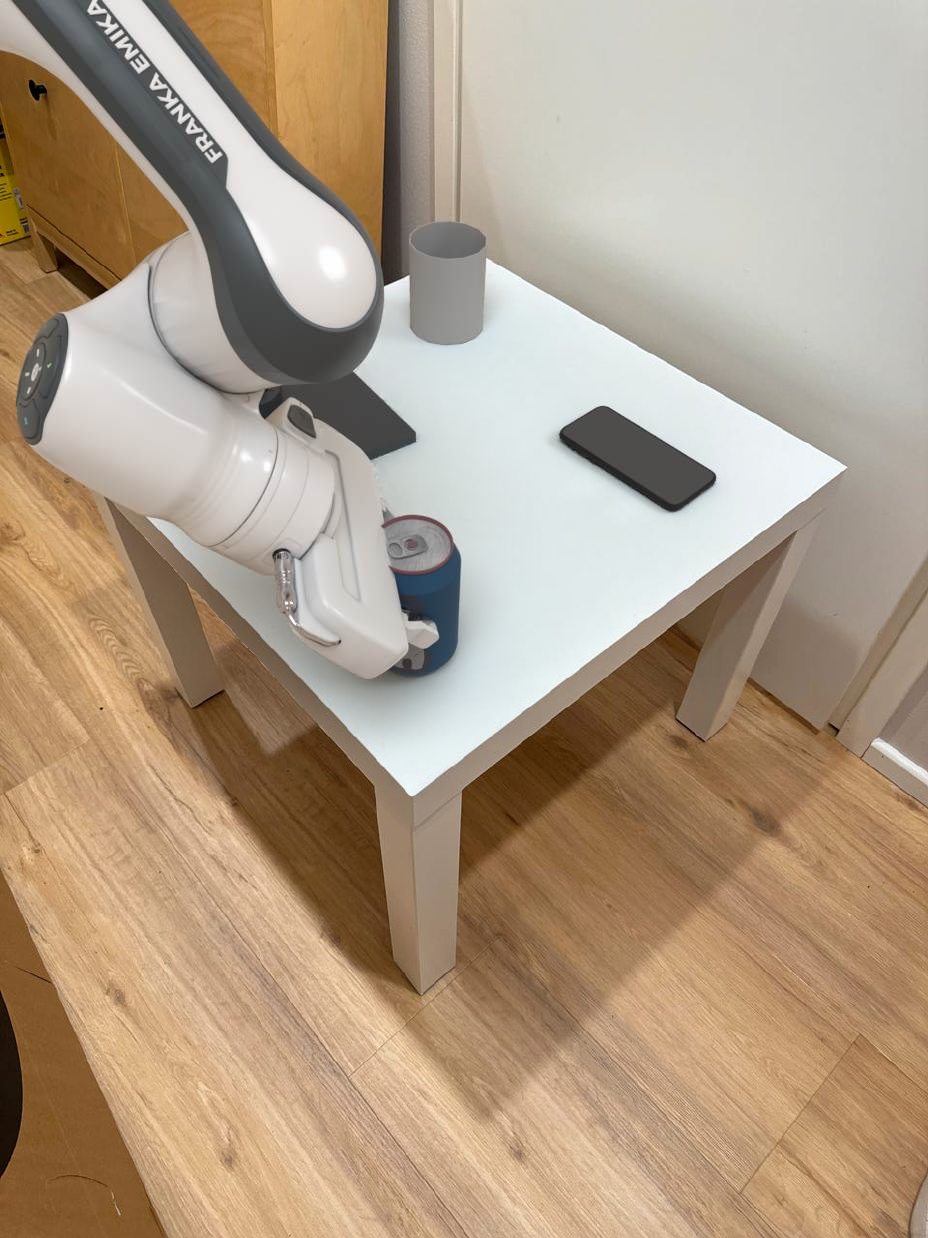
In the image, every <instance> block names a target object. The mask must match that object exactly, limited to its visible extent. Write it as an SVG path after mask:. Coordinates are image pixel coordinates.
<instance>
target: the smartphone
mask: <svg viewBox="0 0 928 1238" xmlns="http://www.w3.org/2000/svg"><path fill="white" fill-rule="evenodd" d="M558 436H559V439H560V440H561V442H563V443H564V444H566V445H568V447H570V448H572V449H574V450H575V451H577V452H578V453H579V454H581V455H582V456H584V457H586V458H588V459H589V460H590V461H592V462H593V463H595V464H597V465H598V466H600V467H601V468H603V469H605V470H606V471H607V472H609V473H610V474H612V475H613V476H615V477H616V478H618V479H619V480H620V481H623V482H624V483H625V484H627V485H629V486H630V487H632V488H633V489H635V490H636V491H638V492H639V493H641V494H643V495H644V496H645V497H647V498H649V499H650V500H652V501H653V502H655V503H657V504H658V505H659V506H661V507H662V508H664V509H665V510H667V511H670V512H671V511H672V512H675V511H679V510H681V509H683V508H684V507H686V505H687V506H688V505H689V504H690V503H691V502H692V501H693V500H694V499H697V498H698V497H699V496H700V495H702V494H703V493H704V492H706V491H707V490H709V489H710V488H711V487H712V486H714V484H715V483H716V481H717V474H716V472H715V471H713V470H712V469H710V468H708V467H707V466H705V465H703V464H702V463H701V462H699V461H697V460H695V459H694V458H692V457H691V456H689V455H688V454H686V453H684V452H683V451H681V450H679V449H678V448H676V447H675V446H673V445H671V444H670V443H668V442H666V441H665V440H663V439H662V438H660V437H659V436H657V435H655V434H654V433H652V432H650V431H649V430H647V429H645V428H644V427H642V426H640V425H639V424H637V423H636V422H634V421H633V420H631V419H630V418H628V417H626V416H624V415H623V414H621V413H620V412H618V411H616V410H614V409H613V408H611V407H610V406H607V405H598V406H596V407H594V408H592V409H591V410H589V411H587V412H586V413H584V414H583V415H581V416H579V417H578V418H576V419H575V420H573V421H571V422H570V423H568V424H566V425H565V426H563V427H562V428H561V429H560V430H559V435H558Z"/></svg>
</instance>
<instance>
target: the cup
mask: <svg viewBox="0 0 928 1238" xmlns="http://www.w3.org/2000/svg"><path fill="white" fill-rule="evenodd" d="M408 239H409V240H408V266H409V267H408V268H409V270H408V271H409V273H408V274H409V277H408V280H409V328H410V329H411V331H412V333H414V335H415V336H416V337H417V338H420V339H422V340H424V341H425V342H428V343H431V344H438V345H444V346H449V345H461V344H462V345H463V344H465V343H467V342H469V341H472V340H474V339H476V338H478V336H479V335H480V334H481V333H482V331H483V327H484V311H485V310H484V309H485V290H486V272H487V255H488V253H487V252H488V236H487V235H486V234H485V233H484V232H483V231H482V230H481V229H480V228H478V227H476V226H473V225H470V224H468V223H466V222H459V221H453V220H444V221H432V222H428V223H425V224H422V225H419V226H417V227H416V228H415V229H414V230H413V231H412V232H410V233H409V238H408Z"/></svg>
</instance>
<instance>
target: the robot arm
mask: <svg viewBox="0 0 928 1238" xmlns="http://www.w3.org/2000/svg"><path fill="white" fill-rule="evenodd" d="M0 51H3V52H6V53H10V54H14V55H16V56H19V57H22V58H24V59H26V60H29V61H30V62H32V63H35V64H37V65H39V66H40V67H42V68H43V69H45V70H46V71H48V72H49V73H51V74H52V75H53V76H55V77H56V78H58V79H59V80H60V81H61V82H62V83H64V84H65V85H66V86H67V87H68V88H69V89H70V90H71V91H72V92H73V93H74V94H75V95H76V96H77V97H78V98H79V99H80V101H82V103H83V104H84V105H85V106H86V107H87V108H88V110H89V111H90V112H91V113H92V114H93V116H94V117H95V118H96V119H97V120H98V121H99V122H100V124H101V125H102V126H103V127H104V128H105V130H107V132H108V133H109V134H110V135H111V136H112V138H113V139H114V140H115V141H116V142H117V143H118V145H119V146H120V147H121V149H122V150H124V151H125V153H126V154H127V156H129V158H130V159H131V160H132V161H133V162H134V164H136V166H137V168H139V169H140V170H141V172H142V173H143V175H145V176H146V177H147V179H148V180H149V181H150V182H151V183H152V184H153V186H154V187H155V188H156V189H157V191H158V192H159V193H160V194H161V195H162V196H163V197H164V199H165V200H166V201H167V202H168V204H169V205H171V207H172V208H173V209H174V210H175V211H176V212H177V214H178V215H179V216H180V218H181V219H182V221H183V222H184V223H185V226H186V227H187V229H188V230H187V231H185V232H183V233H181V234H179V235H177V236H176V237H174V238H172V239H170V240H169V241H167V242H165V243H164V244H162V245H160V246H158V247H157V248H156V249H154V250H152V251H151V252H150V253H149V254H147V255H146V256H145V257H144V258H143V259H142V260H141V262H139V263H138V265H136V266H135V268H133V270H132V271H130V273H129V274H128V275H126V276H125V277H124V278H123V279H122V280H121V281H120V282H118V283H116V285H114V286H113V287H111V288H110V289H108V290H106V291H105V292H104V293H102V294H100V295H98V296H97V297H94V298H93V299H90V300H89V301H87V302H86V303H83V304H81V305H79V306H78V307H74V308H72V309H69V310H67V311H60V312H57V313H55V314H53V315H52V316H50V318H49V319H48V320H47V321H46V322H45V323H44V324H43V325H42V326H41V327H40V329H39V330H38V332H37V333H36V335H35V337H34V339H33V341H32V344H31V346H30V349H29V350H28V351H27V353H26V356H25V358H24V361H23V363H22V367H21V370H20V374H19V378H18V383H17V387H16V393H15V407H16V420H17V424H18V427H19V431H20V432H21V436H22V437H23V439H24V440H25V442H26V443H27V444H28V445H29V446H30V448H31V449H32V450H33V451H34V452H35V453H37V454H38V456H40V457H41V458H42V459H44V460H45V461H47V462H48V463H49V464H50V465H51V466H53V467H55V468H56V469H57V470H59V471H60V472H62V473H64V474H65V475H66V476H68V477H70V478H71V479H73V480H75V481H76V482H78V483H80V484H81V485H83V486H85V488H88V489H89V490H92V491H93V492H95V493H97V494H98V495H100V496H102V497H104V498H105V499H108V500H110V501H112V503H113V502H114V504H115V503H116V504H117V505H119V506H122V507H123V508H125V509H127V510H129V511H131V512H134V513H135V514H138V515H140V516H143V517H147V518H152V519H158V520H162V521H165V522H168V523H170V524H172V525H173V526H176V527H177V528H178V529H180V530H181V531H182V532H183V533H184V534H186V536H187V537H189V539H191V540H192V541H193V542H195V543H197V544H198V545H199V546H201V547H204V548H206V549H208V550H210V551H212V552H214V553H215V554H217V555H220V556H222V557H225V558H226V559H228V560H230V561H233V562H234V563H236V564H238V565H240V566H242V567H244V568H246V569H248V570H250V571H253V572H254V573H256V574H259V575H261V576H263V577H264V576H265V577H272V576H275V581H276V585H277V593H276V602H277V606H278V609H279V612H280V613H282V614H285V616H286V619H287V622H288V625H289V627H290V629H291V631H292V633H293V634H294V636H296V638H297V639H298V640H299V641H300V642H302V643H303V644H304V645H305V646H307V647H308V648H309V649H310V650H312V651H313V652H315V653H316V654H318V655H319V656H321V657H323V658H324V659H326V660H328V661H329V662H332V663H333V664H335V665H336V666H338V667H339V668H342V669H343V670H345V671H347V672H349V673H351V674H353V675H355V676H357V677H358V678H361V679H366V680H371V679H374V678H377V677H379V676H380V675H382V674H383V673H385V672H387V671H388V670H390V669H389V668H391V667H392V666H393V665H394V664H396V663H397V662H398V661H399V660H400V659H401V658H403V657H404V656H405V655H406V654H407V652H408V643H410V644H412V645H414V646H416V647H418V648H421V649H425V648H428V647H429V646H431V645H432V644H433V643H435V642H436V641H437V640H438V639H439V634H438V631H437V627H436V623H435V620H434V619H430V618H429V617H428V616H426V615H424V614H422V613H420V614H419V615H417V616H416V617H415V618H414V619H413V621H408V616H407V614H406V613H404V612H402V610H401V605H400V600H399V595H398V589H397V584H396V579H395V574H394V572H393V571H392V570H391V569H390V568H389V566H391V556H390V555H389V553H388V551H387V547H386V545H387V544H388V541H387V540H386V536H385V530H384V529H383V528H382V527H381V525H383V524H384V523H385V522H387V521H389V520H391V519H393V518H396V517H399V515H398V514H397V513H396V512H395V511H394V509H393V508H392V507H391V506H390V505H389V503H388V502H387V501H386V500H385V499H384V498H382V497H380V493H379V487H378V482H377V478H376V473H375V472H376V471H375V467H374V464H373V462H372V461H371V460H370V459H369V458H368V457H367V456H366V454H365V453H364V452H363V451H362V450H361V449H360V448H359V447H358V446H357V445H356V444H354V443H353V442H352V441H350V440H349V439H348V438H346V437H345V436H344V435H342V434H341V433H339V432H338V431H336V430H335V429H333V428H332V427H330V426H329V425H327V424H326V423H324V422H323V421H321V420H318V419H315V418H313V415H312V412H311V410H310V409H309V408H308V407H307V406H305V405H304V404H303V403H301V402H300V401H298V400H297V399H295V398H292V397H290V398H288V399H287V400H286V401H284V402H283V403H282V404H281V405H280V406H279V407H278V408H277V409H276V410H274V411H273V412H272V413H271V414H270V415H269V416H268V417H267V418H266V419H265V420H264V419H263V417H262V416H261V414H260V412H259V402H260V400H261V397H262V395H263V393H264V391H265V390H264V389H268V388H272V387H276V386H280V385H298V384H314V383H326V382H331V381H335V380H338V379H340V378H342V377H344V376H346V375H348V374H349V373H351V372H352V371H353V372H354V371H355V370H356V369H357V368H358V367H359V366H360V365H361V364H362V363H363V362H364V361H365V359H366V358H367V356H368V355H369V354H370V352H371V350H372V349H373V346H374V344H375V342H376V341H377V337H378V335H379V332H380V328H381V324H382V320H383V315H384V314H383V313H384V306H385V282H384V277H383V276H384V275H383V269H382V264H381V261H380V257H379V254H378V252H377V249H376V246H375V244H374V242H373V240H372V237H371V236H370V234H369V231H368V230H367V229H366V227H365V226H364V223H362V221H361V220H360V218H359V217H358V216H357V215H356V213H354V211H353V210H352V209H351V208H350V206H349V205H348V204H347V203H346V202H345V201H344V200H343V199H342V198H341V197H339V196H338V194H336V192H334V191H333V190H332V189H330V188H329V187H328V186H327V185H326V184H325V183H323V182H322V181H321V180H320V179H319V178H318V177H316V176H315V175H314V174H313V173H312V172H311V171H309V170H308V169H307V168H306V167H305V166H304V165H303V164H302V163H300V161H298V160H297V159H296V158H295V157H294V155H292V153H290V151H288V149H287V148H286V147H285V146H284V145H283V144H282V143H281V141H280V140H279V139H278V138H277V137H276V135H275V134H274V133H273V131H271V130H270V128H269V127H268V125H267V124H266V123H265V122H264V120H263V119H262V118H261V117H260V116H259V114H258V113H257V112H256V111H255V109H254V107H252V105H251V104H250V102H249V101H248V100H247V98H245V96H244V94H242V92H241V91H240V90H239V89H238V88H237V86H236V85H235V83H234V82H233V81H232V79H230V77H229V76H228V74H227V73H226V72H225V71H224V70H223V67H221V66H220V65H219V63H218V62H217V61H216V59H215V58H214V57H213V55H212V54H211V53H210V51H209V50H208V49H207V47H206V46H205V45H204V44H203V43H202V41H201V40H200V39H199V37H198V36H197V35H196V34H195V33H194V31H193V30H192V28H191V27H190V26H189V25H188V23H187V22H186V21H185V19H184V18H183V17H182V16H181V14H180V13H179V12H178V11H177V10H176V8H175V7H174V5H173V4H172V3H171V1H169V0H0ZM388 565H389V566H388Z"/></svg>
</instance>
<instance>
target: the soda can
mask: <svg viewBox="0 0 928 1238" xmlns="http://www.w3.org/2000/svg"><path fill="white" fill-rule="evenodd" d="M381 527H382V528H383V529H384V530H385V536H386V540H387V541H388V544H387V545H386V547H387V551H388V553H389V555H390V556H391V566H389V565H388V566H389V568H390V569H391V570H392V571H393V572H394V574H395V579H396V584H397V589H398V595H399V600H400V605H401V610H402V612H404V613H406V614H407V616H408V621H413V619H414V618H415V617H416V616H417V615H419V614H420V613H422V614H424V615H426V616H428V617H429V618H430V619H434V620H435V623H436V627H437V631H438V634H439V639H438V640H437V641H436V642H435V643H433V644H432V645H431V646H429V647H428V648H425V649H421V648H418V647H416V646H414V645H412V644H410V643H408V652H407V654H406V655H405V656H404V657H403V658H401V659H400V660H399V661H398V662H397V663H396V664H394V665H393V666H392V667H391V668H389V669H388V670H390V671H392V672H393V673H395V674H397V675H400V676H403V677H407V678H409V677H410V678H419V677H425V676H429V675H430V674H433V673H435V672H436V671H438V670H439V669H440V668H442V667H444V666H445V665H446V664H447V663H448V662H449V661H450V660H451V659H452V657H453V656H454V654H455V652H456V650H457V647H458V642H459V624H460V601H461V600H460V599H461V598H460V597H461V578H462V577H461V576H462V574H461V573H462V555H461V552H460V550H459V548H458V546H457V544H456V543H455V542H454V538H453V534H452V533H451V531H450V530H449V529H448V527H447V526H445V524H444V523H442V522H441V521H438V520H437V519H435V518H433V517H430V516H427V515H426V516H425V515H422V514H405V515H404V514H403V515H401V516H400V515H398V517H396V518H393V519H391V520H389V521H387V522H385V523H384V524H383V525H381Z"/></svg>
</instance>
